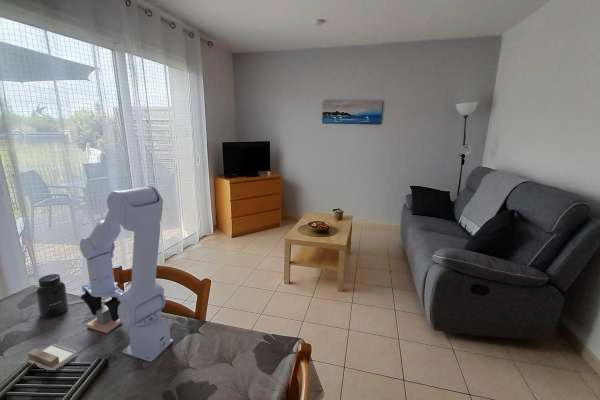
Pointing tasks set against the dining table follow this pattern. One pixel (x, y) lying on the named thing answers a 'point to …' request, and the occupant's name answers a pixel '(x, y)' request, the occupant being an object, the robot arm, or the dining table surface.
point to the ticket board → (59, 354)
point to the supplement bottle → (51, 296)
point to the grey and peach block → (103, 321)
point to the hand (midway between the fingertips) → (106, 316)
